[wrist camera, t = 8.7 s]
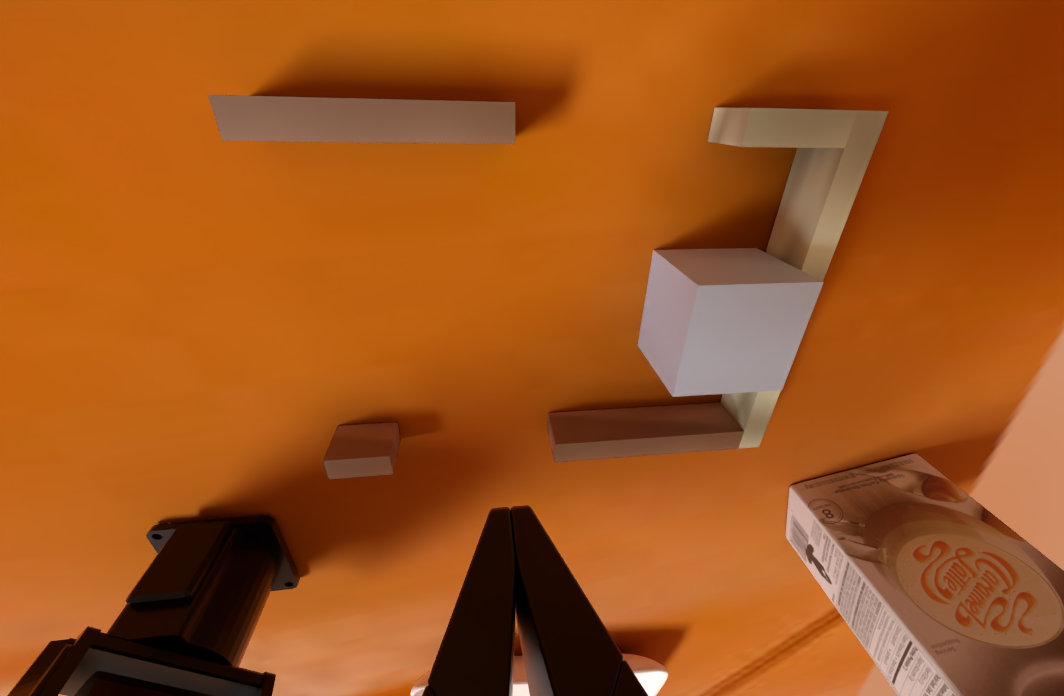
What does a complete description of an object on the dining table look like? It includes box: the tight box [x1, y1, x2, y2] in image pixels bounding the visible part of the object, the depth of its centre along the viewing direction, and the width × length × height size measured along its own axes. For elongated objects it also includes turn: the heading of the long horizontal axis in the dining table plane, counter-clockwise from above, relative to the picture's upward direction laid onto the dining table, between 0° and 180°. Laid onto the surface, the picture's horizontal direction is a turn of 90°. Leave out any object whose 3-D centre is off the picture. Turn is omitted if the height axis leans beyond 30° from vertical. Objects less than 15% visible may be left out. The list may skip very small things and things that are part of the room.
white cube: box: [638, 248, 824, 397], centre depth 19 cm, size 5×5×4 cm
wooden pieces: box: [208, 95, 889, 479], centre depth 18 cm, size 16×22×2 cm
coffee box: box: [786, 454, 1064, 696], centre depth 23 cm, size 9×6×16 cm
